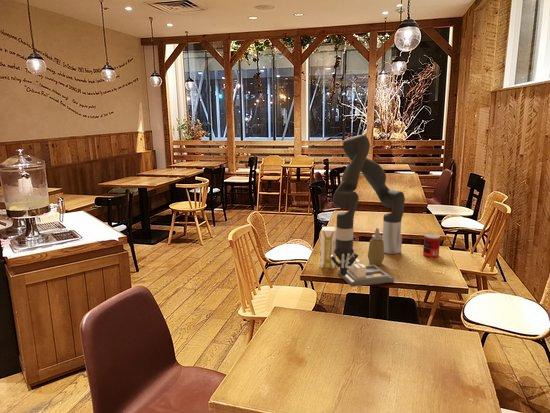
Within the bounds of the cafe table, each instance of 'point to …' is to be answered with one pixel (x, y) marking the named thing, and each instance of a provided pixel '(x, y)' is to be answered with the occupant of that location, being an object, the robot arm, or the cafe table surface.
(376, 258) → the squeeze bottle
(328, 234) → the juice carton
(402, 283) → the cafe table surface
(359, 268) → the tab
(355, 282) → the grey tray
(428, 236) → the canned food
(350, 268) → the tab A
